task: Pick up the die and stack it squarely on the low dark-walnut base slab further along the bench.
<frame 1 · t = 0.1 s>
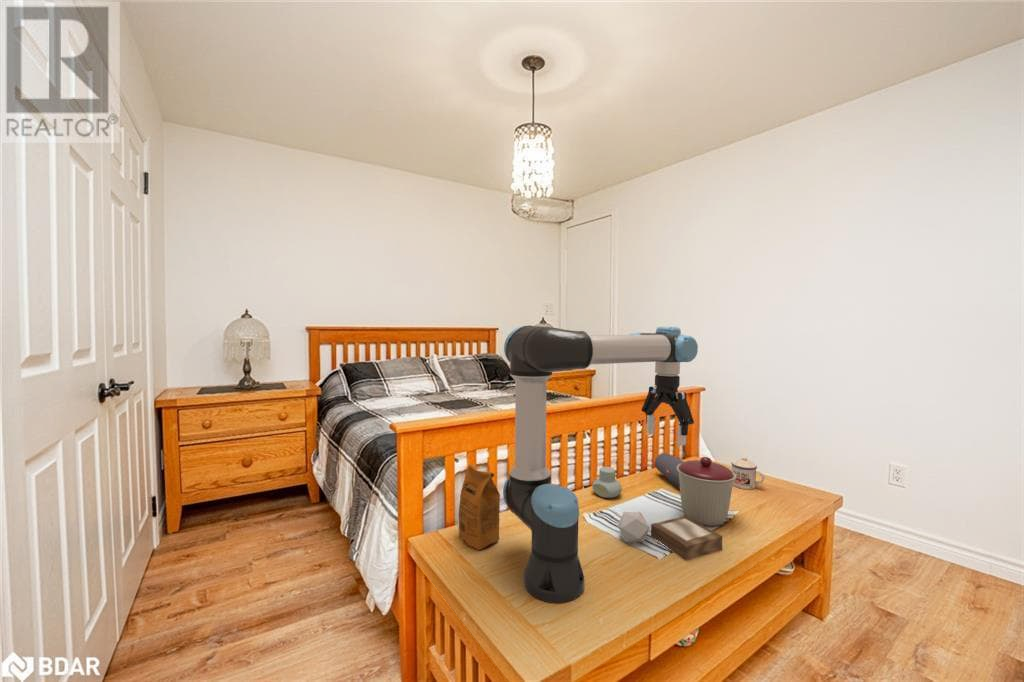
hand: (665, 439, 139), 28 cm above the table, fingers open, 13 cm apart
air freshener: (606, 495, 163), on the table
bluetooth speaker: (677, 484, 174), on the table
base: (685, 543, 128), on the table
die: (633, 540, 130), on the table
canister: (703, 519, 144), on the table
teacup with lid: (747, 487, 172), on the table
coffee package: (478, 539, 129), on the table
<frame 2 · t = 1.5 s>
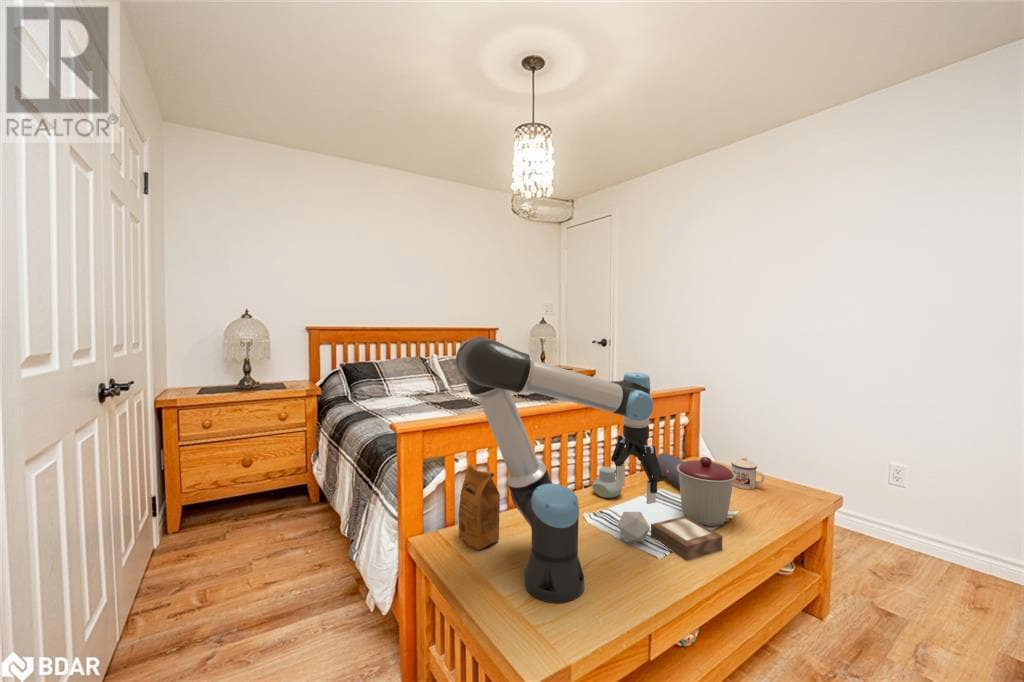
hand: (635, 494, 129), 14 cm above the table, fingers open, 13 cm apart
nothing on the table moved.
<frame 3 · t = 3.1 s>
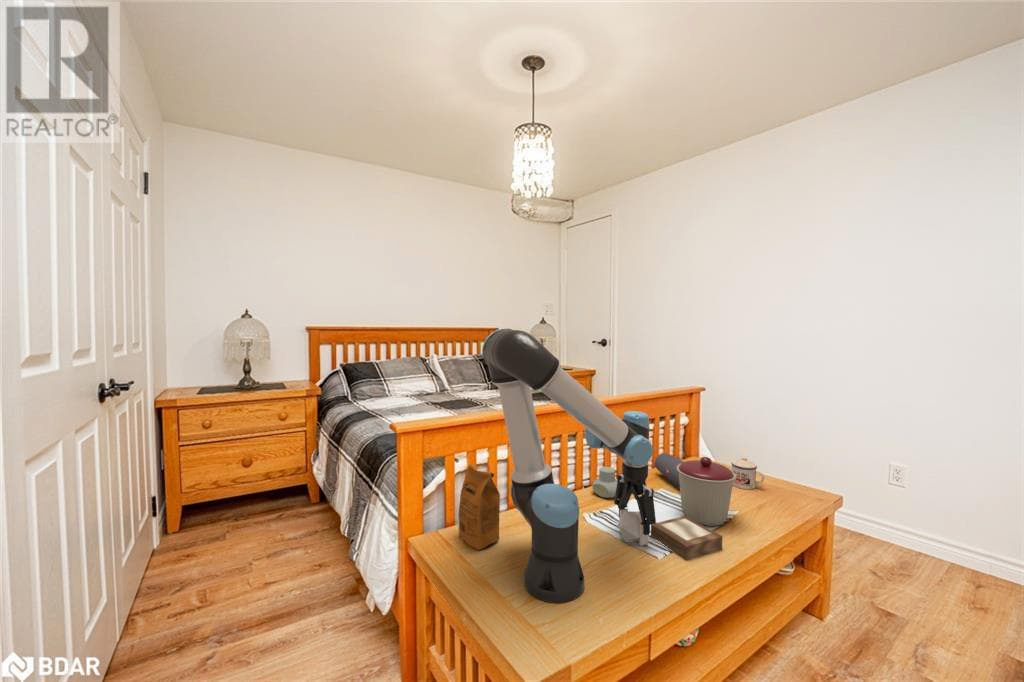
hand: (633, 536, 130), 1 cm above the table, fingers closed on die, 8 cm apart
die: (632, 539, 130), on the table, touching gripper
everything else where it was.
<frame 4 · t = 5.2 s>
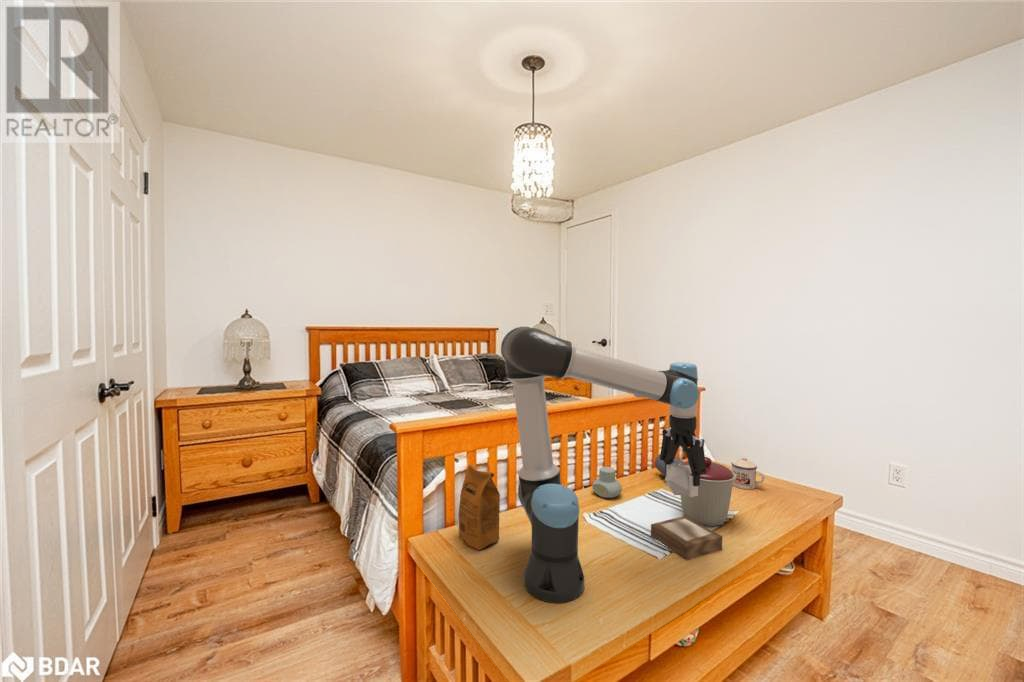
hand: (681, 490, 128), 16 cm above the table, fingers closed on die, 8 cm apart
die: (681, 493, 128), point 15 cm above the table, touching gripper
everything else where it was.
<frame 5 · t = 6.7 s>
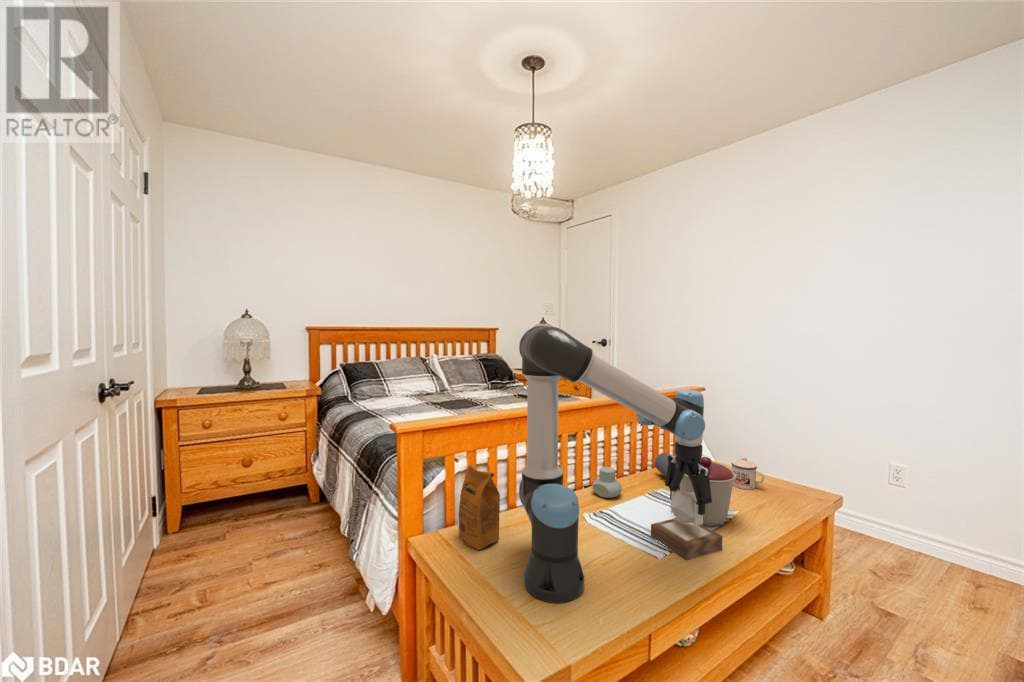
hand: (686, 517, 128), 8 cm above the table, fingers closed on die, 8 cm apart
die: (686, 521, 128), point 7 cm above the table, touching gripper
everything else where it was.
when the fingers open (6 cm above the table, at t = 7.5 s): die stays where it is, resting on base.
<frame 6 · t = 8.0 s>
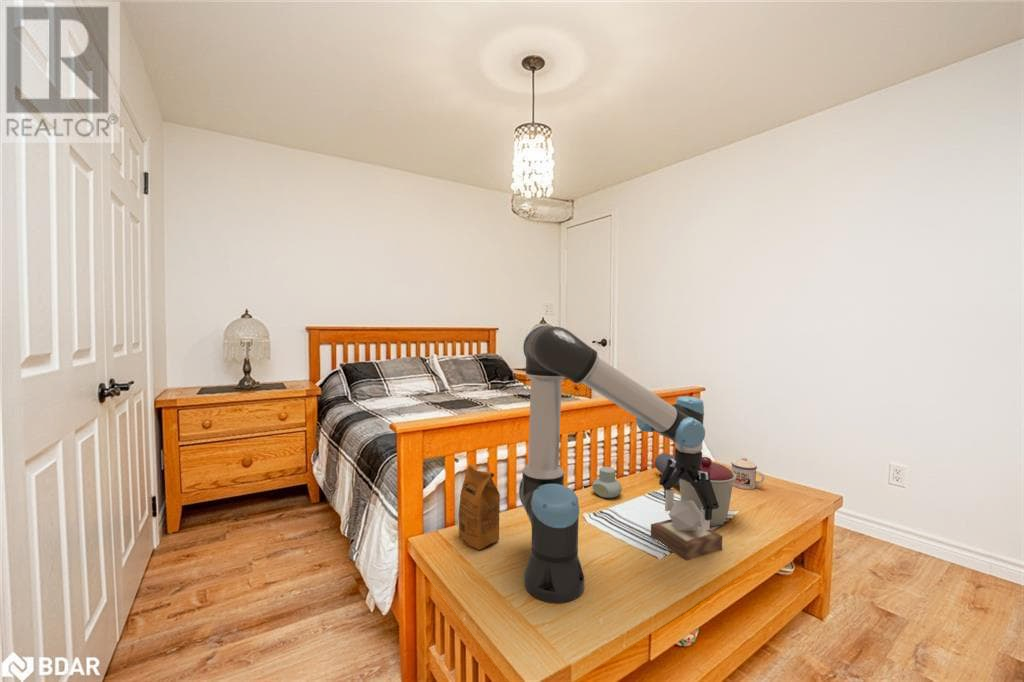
hand: (686, 519, 128), 7 cm above the table, fingers open, 13 cm apart
die: (685, 529, 128), point 4 cm above the table, touching base
everything else where it was.
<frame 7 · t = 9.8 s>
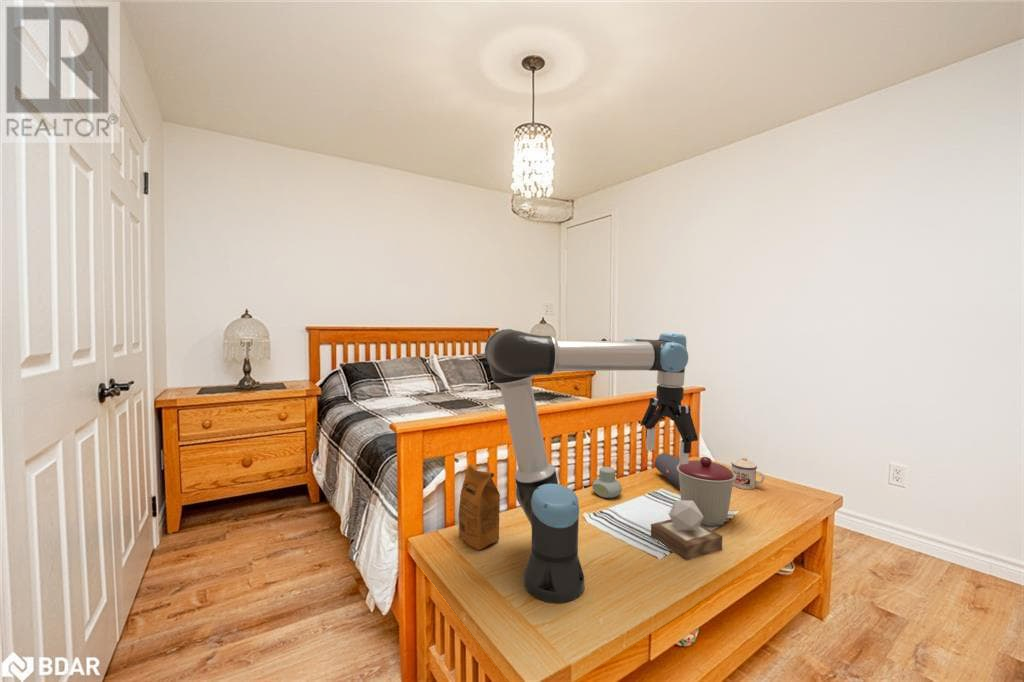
hand: (666, 456, 127), 26 cm above the table, fingers open, 13 cm apart
nothing on the table moved.
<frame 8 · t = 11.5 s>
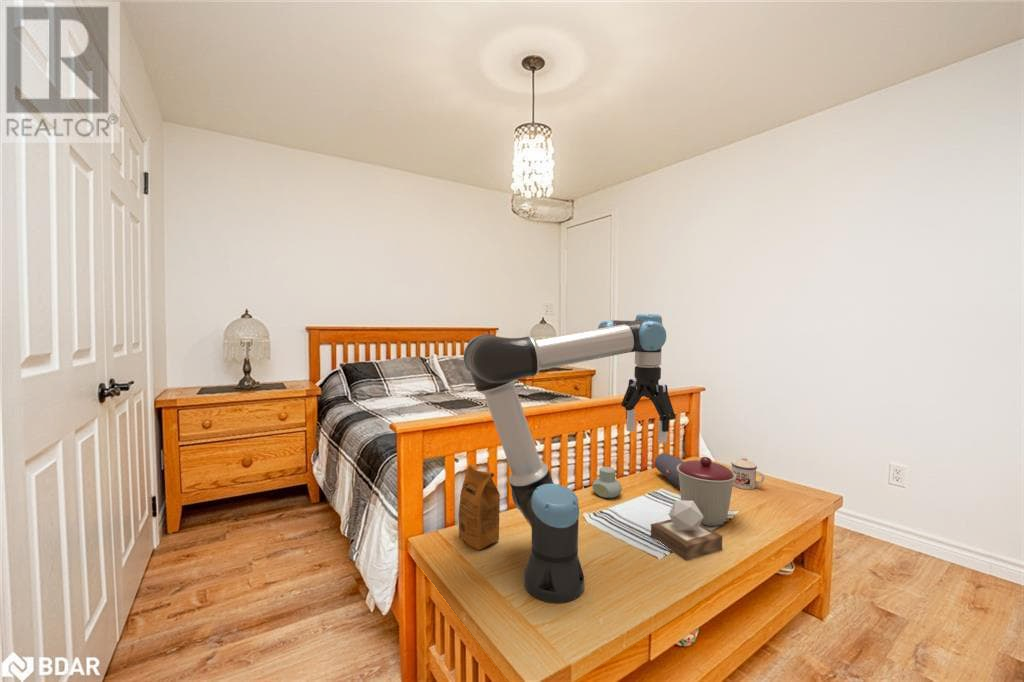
hand: (645, 436, 128), 32 cm above the table, fingers open, 13 cm apart
nothing on the table moved.
at the end: die inside the target area on the base (0.3 cm from its centre), point 4.1 cm above the base's base; die tilted 2°; the gripper is holding nothing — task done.
